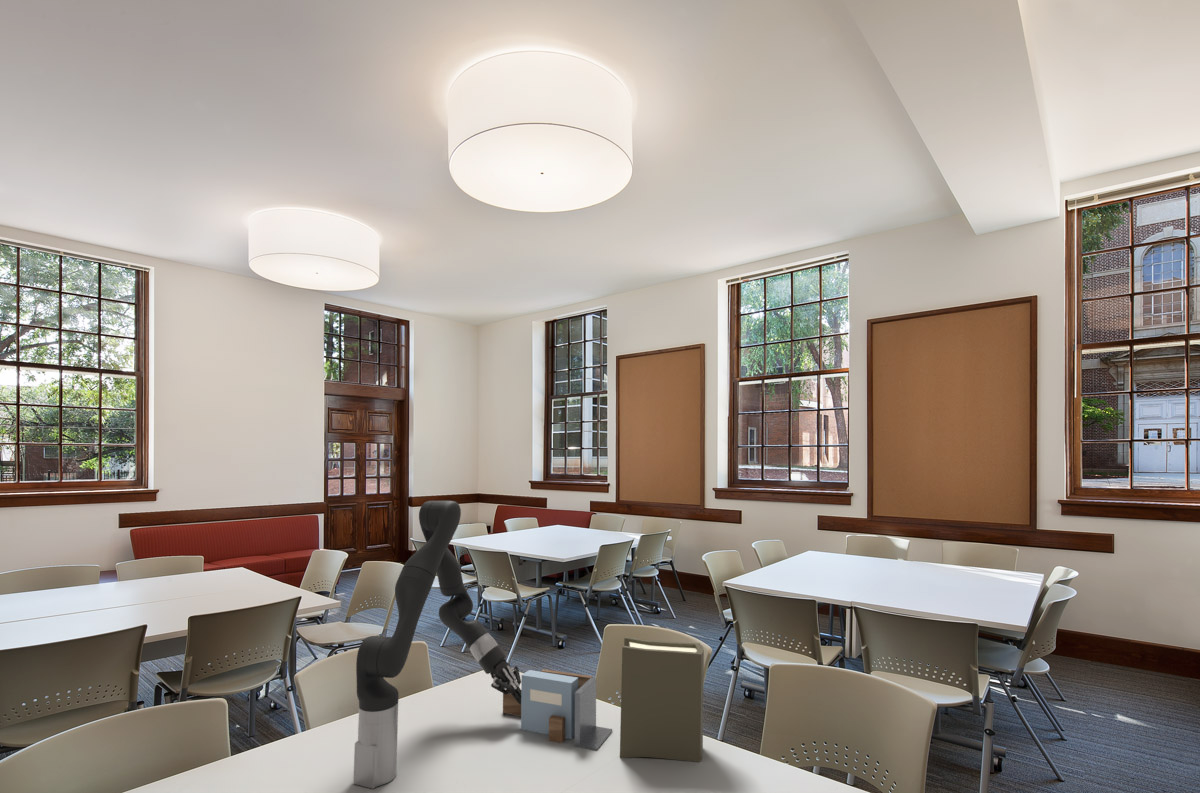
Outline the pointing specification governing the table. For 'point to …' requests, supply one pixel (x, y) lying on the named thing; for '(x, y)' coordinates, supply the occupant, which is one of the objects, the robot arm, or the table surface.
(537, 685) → the boxed book
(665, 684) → the book
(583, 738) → the bookend
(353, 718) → the table surface
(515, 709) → the rail
